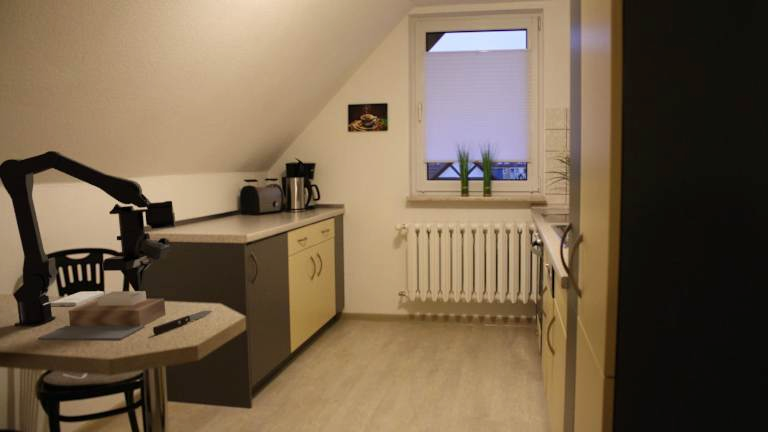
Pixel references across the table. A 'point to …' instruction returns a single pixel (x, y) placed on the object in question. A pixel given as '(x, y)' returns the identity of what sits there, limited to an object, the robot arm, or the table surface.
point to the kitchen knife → (178, 322)
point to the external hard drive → (77, 298)
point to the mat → (92, 332)
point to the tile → (121, 298)
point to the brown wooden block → (117, 314)
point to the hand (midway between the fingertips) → (138, 291)
